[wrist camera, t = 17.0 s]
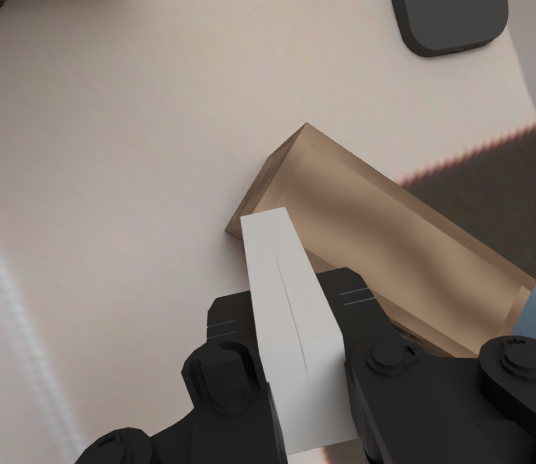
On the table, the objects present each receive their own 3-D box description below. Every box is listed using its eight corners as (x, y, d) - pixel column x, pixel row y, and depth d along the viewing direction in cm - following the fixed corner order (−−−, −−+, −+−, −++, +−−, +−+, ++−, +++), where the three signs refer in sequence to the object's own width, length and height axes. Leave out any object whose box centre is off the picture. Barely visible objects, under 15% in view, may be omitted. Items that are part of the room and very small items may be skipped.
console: (403, 337, 49) (489, 377, 35) (224, 229, 44) (243, 228, 31) (439, 267, 50) (536, 280, 36) (269, 155, 45) (306, 122, 32)
